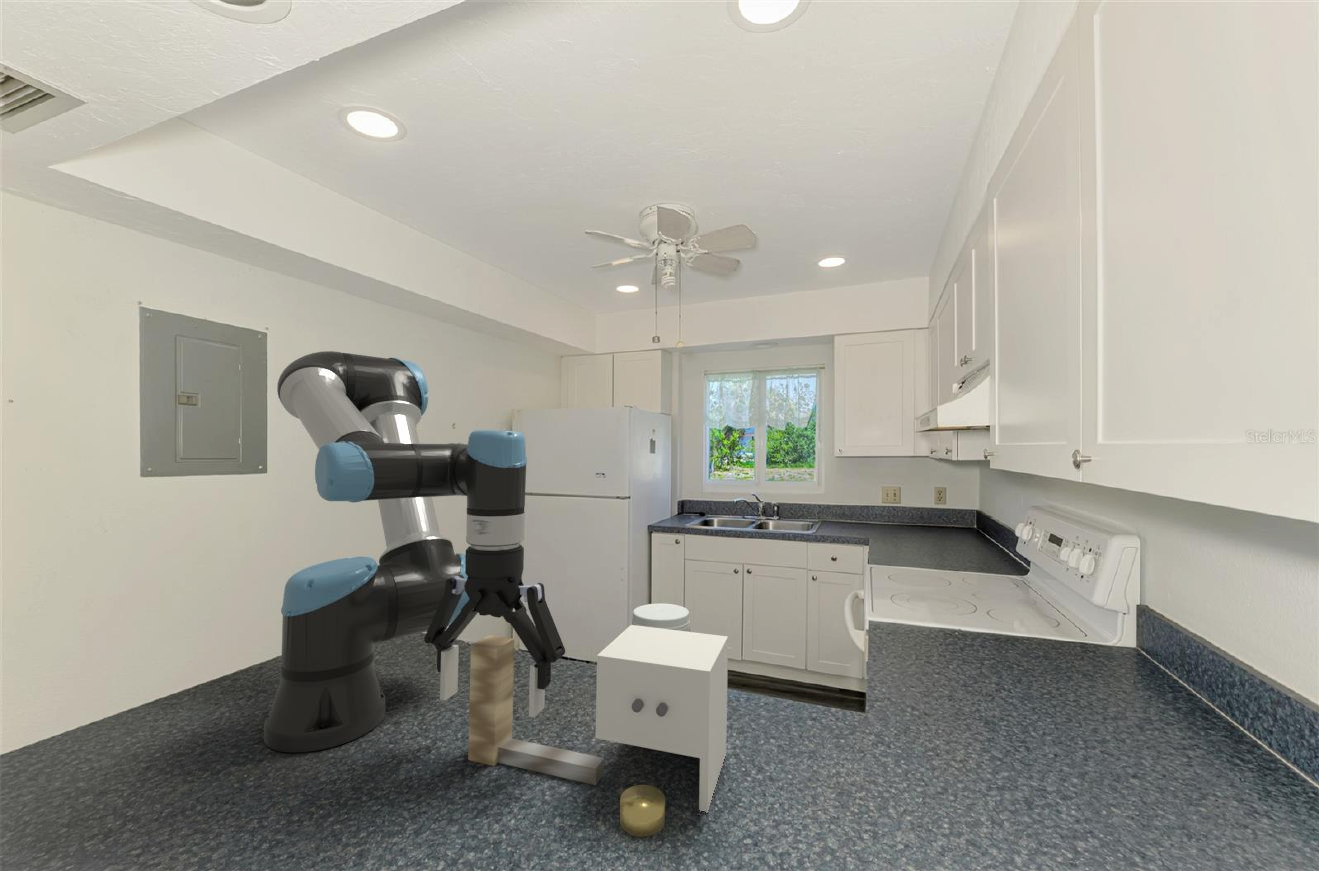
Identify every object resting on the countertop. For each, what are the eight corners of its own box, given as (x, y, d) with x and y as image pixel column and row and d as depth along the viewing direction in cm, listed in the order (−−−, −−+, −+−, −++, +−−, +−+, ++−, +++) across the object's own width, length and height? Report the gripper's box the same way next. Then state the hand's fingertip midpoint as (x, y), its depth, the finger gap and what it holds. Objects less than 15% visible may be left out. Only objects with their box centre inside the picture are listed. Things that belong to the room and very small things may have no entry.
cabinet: (591, 792, 65) (594, 658, 65) (628, 737, 77) (630, 624, 77) (705, 817, 61) (708, 674, 61) (726, 755, 73) (727, 636, 73)
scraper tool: (468, 759, 71) (470, 644, 71) (486, 744, 75) (489, 635, 75) (593, 789, 65) (595, 664, 66) (606, 770, 69) (608, 652, 70)
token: (613, 832, 58) (614, 808, 59) (628, 802, 63) (628, 781, 63) (658, 841, 57) (658, 818, 57) (669, 811, 62) (669, 789, 62)
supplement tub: (701, 706, 87) (702, 614, 87) (651, 721, 82) (653, 624, 82) (667, 683, 95) (668, 599, 95) (620, 696, 90) (621, 607, 90)
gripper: (398, 543, 73) (394, 701, 73) (566, 557, 66) (562, 734, 65) (437, 534, 80) (433, 678, 80) (591, 546, 73) (588, 705, 72)
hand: (491, 704), depth 72 cm, fingers open, 13 cm apart
